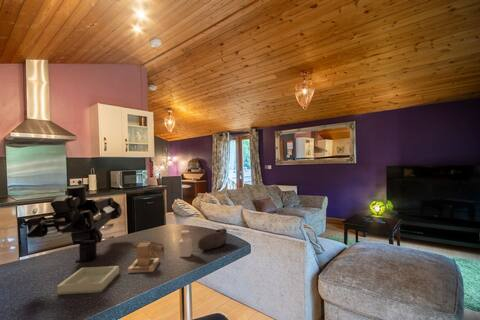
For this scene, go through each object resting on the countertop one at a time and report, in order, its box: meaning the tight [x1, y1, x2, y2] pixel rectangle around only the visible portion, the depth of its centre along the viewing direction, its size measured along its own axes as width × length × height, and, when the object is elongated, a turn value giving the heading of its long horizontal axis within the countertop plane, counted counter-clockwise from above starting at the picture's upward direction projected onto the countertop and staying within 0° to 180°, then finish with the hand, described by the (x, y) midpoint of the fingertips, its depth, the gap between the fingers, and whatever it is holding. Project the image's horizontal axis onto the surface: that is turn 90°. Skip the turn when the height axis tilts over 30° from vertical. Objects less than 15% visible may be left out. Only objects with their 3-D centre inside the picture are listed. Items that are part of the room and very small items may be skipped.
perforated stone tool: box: [197, 227, 228, 251], centre depth 106 cm, size 15×5×7 cm, turn 131°
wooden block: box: [136, 242, 152, 266], centre depth 88 cm, size 4×4×8 cm
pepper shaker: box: [178, 229, 193, 258], centre depth 97 cm, size 4×4×10 cm
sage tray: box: [56, 265, 120, 296], centre depth 77 cm, size 12×12×2 cm
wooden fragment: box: [133, 240, 165, 259], centre depth 105 cm, size 26×11×1 cm, turn 33°
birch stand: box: [127, 257, 160, 274], centre depth 88 cm, size 8×8×2 cm
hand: (44, 233), depth 72 cm, fingers open, 9 cm apart
